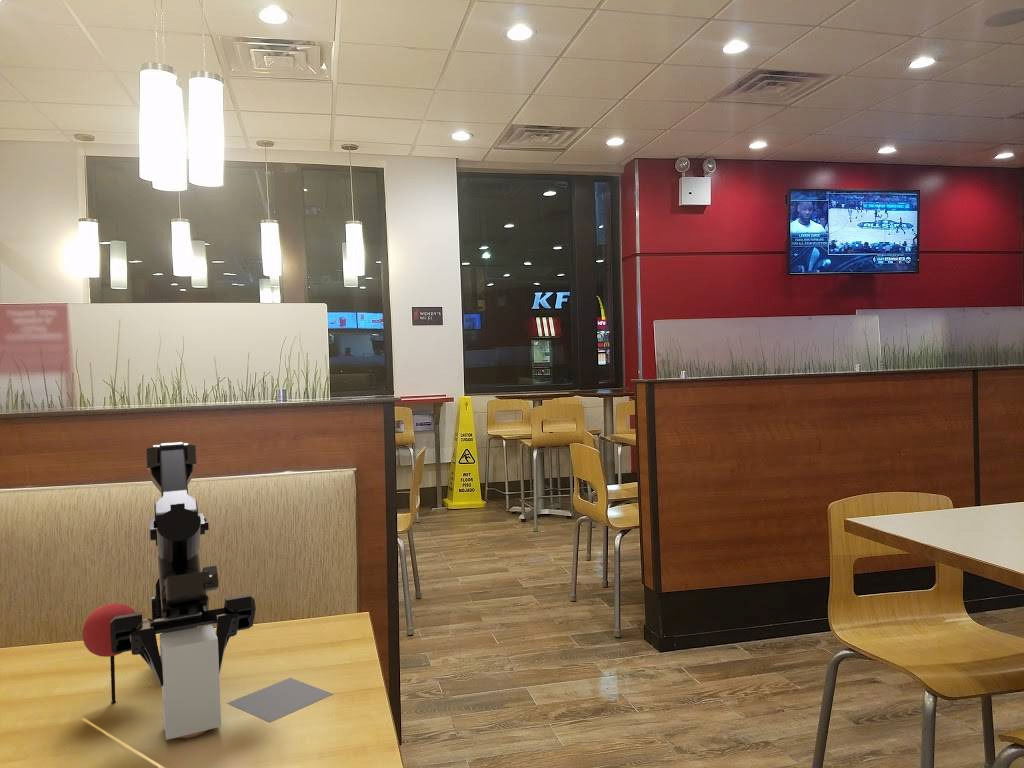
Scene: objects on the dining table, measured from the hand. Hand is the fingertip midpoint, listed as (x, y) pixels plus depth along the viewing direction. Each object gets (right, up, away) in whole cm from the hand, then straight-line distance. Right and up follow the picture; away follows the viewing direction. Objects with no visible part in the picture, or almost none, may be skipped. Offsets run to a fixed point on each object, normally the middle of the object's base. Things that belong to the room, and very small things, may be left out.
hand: (190, 678), depth 99 cm
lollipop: (-17, -9, +12) cm, 23 cm away
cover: (0, -7, +1) cm, 7 cm away
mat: (+9, -8, +11) cm, 16 cm away
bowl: (0, -8, +1) cm, 8 cm away
